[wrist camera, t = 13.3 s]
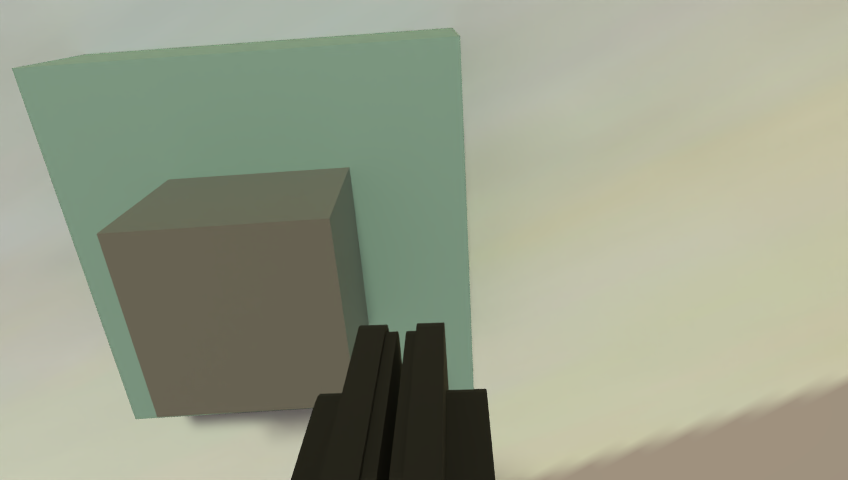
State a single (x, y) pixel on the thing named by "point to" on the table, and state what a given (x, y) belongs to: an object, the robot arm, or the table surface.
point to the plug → (240, 289)
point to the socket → (274, 157)
